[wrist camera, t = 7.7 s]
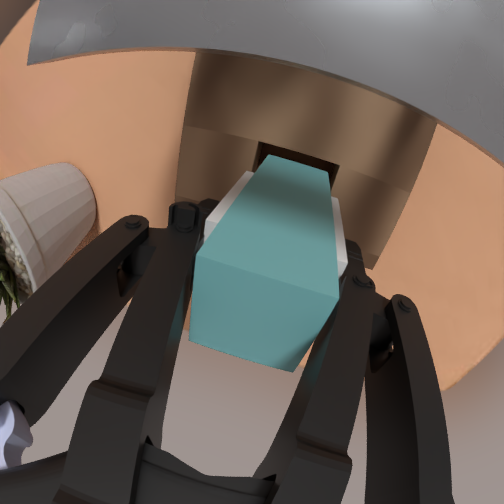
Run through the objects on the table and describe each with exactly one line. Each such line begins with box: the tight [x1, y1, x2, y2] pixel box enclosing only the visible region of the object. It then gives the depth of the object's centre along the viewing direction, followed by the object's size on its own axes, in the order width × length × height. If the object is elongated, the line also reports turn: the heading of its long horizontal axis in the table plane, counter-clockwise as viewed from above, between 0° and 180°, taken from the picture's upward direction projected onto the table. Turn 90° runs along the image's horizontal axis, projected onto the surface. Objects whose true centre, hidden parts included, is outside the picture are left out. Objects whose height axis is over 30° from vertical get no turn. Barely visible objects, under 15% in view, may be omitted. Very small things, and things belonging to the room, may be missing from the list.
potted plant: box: [0, 162, 96, 324], centre depth 18 cm, size 13×14×20 cm
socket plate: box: [175, 52, 437, 270], centre depth 17 cm, size 16×16×2 cm
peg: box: [189, 154, 339, 372], centre depth 13 cm, size 4×4×12 cm
